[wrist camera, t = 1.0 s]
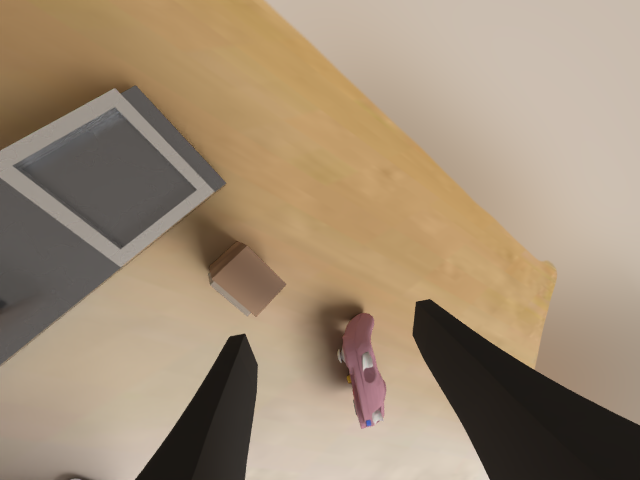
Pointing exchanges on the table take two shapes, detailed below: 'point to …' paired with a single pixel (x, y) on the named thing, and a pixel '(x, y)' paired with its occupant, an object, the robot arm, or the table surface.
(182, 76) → the table surface
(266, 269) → the wooden block
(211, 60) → the table surface
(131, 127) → the grey holder base
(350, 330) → the video game controller
